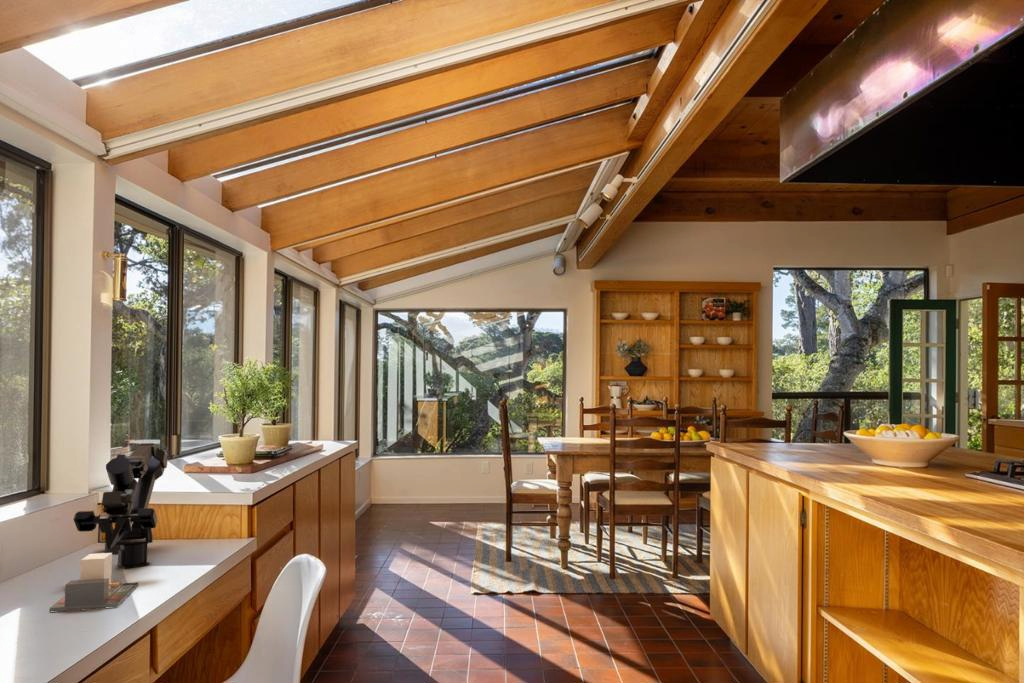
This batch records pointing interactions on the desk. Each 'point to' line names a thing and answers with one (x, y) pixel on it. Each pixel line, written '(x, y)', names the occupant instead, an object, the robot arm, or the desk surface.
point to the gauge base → (93, 595)
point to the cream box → (97, 567)
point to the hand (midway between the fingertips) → (108, 548)
